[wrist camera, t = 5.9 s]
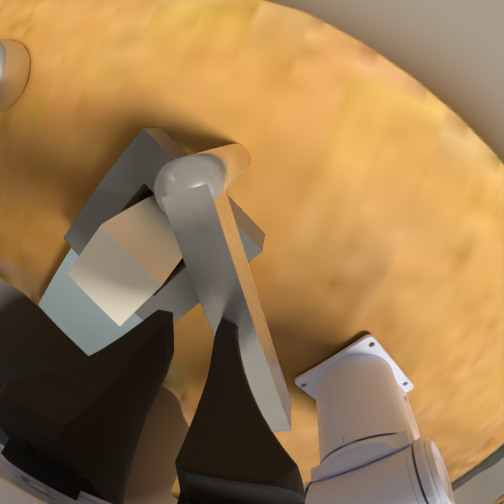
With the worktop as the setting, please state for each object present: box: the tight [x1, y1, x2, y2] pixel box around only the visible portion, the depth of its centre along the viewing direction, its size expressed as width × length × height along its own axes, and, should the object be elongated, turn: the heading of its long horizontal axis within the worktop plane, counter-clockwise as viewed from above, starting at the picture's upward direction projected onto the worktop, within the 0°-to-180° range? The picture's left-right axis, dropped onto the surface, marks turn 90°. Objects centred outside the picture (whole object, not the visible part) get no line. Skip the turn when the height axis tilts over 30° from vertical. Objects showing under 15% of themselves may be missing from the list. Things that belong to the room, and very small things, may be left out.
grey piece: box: [154, 144, 291, 432], centre depth 16 cm, size 13×2×10 cm, turn 16°
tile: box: [38, 248, 143, 356], centre depth 24 cm, size 9×9×2 cm
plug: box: [68, 194, 183, 326], centre depth 17 cm, size 4×4×8 cm
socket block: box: [64, 128, 265, 324], centre depth 20 cm, size 10×10×3 cm
